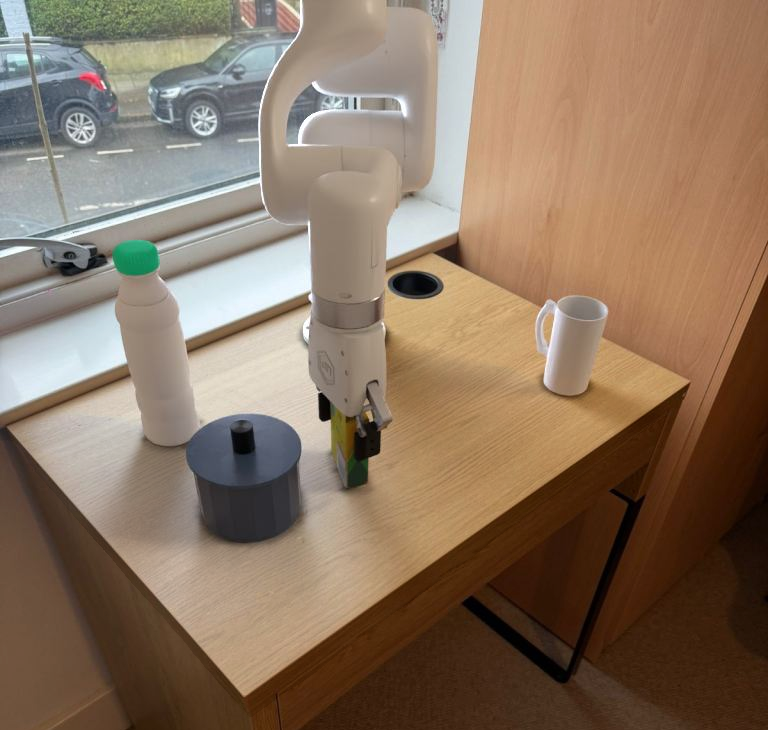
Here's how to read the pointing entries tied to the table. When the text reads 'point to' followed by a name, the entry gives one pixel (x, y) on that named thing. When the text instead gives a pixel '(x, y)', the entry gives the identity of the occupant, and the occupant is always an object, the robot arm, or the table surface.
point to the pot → (251, 508)
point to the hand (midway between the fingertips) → (348, 436)
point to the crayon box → (347, 448)
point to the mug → (571, 342)
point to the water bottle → (154, 346)
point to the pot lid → (243, 451)
